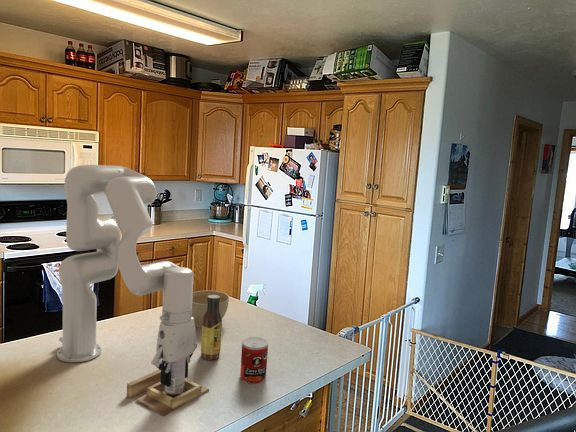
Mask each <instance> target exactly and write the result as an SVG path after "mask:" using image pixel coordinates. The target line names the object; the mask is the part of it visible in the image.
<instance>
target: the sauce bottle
mask: <svg viewBox="0 0 576 432" xmlns="http://www.w3.org/2000/svg"><path fill="white" fill-rule="evenodd" d="M207 301H208V305H207V311H206V313H205V314H204V316H203V324H202V328H201V340H200V341H201V342H200V356H201V358H202V359H204V360H210V361H211V360H216V359H218V358H219V357H220V355H221V349H222V347H221V345H222V333H223V332H222V329H223V318H221V315H220V311H219V301H220V296H218V295H209V296H207Z"/></svg>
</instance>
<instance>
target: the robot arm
mask: <svg viewBox="0 0 576 432" xmlns="http://www.w3.org/2000/svg"><path fill="white" fill-rule="evenodd" d="M63 185H64V186H63V187H64V192H65V198H66V204H67V209H66V230H65V231H66V232H65V238H66V245H67V247H68V248H69V249H70V250H71V251H75V252H85V251H91V250H93V252H86V253H80V254H73V255H70V256H68V257H66V258H65V259H63V260H62V261H61V263H60V264H59V267H58V275H59V280H60V284H61V285H60V286H61V292H62V293H61V294H62V336H61V337H59V340H58V341H59V342H61V347H60V348H59V349H58V350H57V352H56V358H57V359H58V360H59V361H61V362H64V363H82V362H87V361H91V360H93V359H95V358H97V357H98V356H99V355H101V353H102V347H101V345H100V344H97V312H98V311H97V310H98V309H97V308H98V307H97V304H98V303H97V295H96V293H95V292H94V290H93V289H92V288H91V286H90V285H93V284H96V283H100V282H105V281H107V280H108V281H109V280H111V279H112V278H114V277H115V276H116V275H117V273H118V271H119V272H120V275H121V277H122V280H123V282H124V284H125V286H126V288H127V289H128V291H130V292H131V294H133V295H135V296H145V295H149V294H152V293H156V292H160V291H162V310H161V311H162V313H161V315H160V316H159V320H160V322H159V328H158V333H157V338H156V339H157V340H156V353H155V355H154V357H153V359H152V360H151V365H153V366H155V367H156V368H157V369H158V370H161V384H163V385H165V386H167V387H169V386H170V385H171V372H170V371H169V370H170V367H171V363H173V362H175V361H177V360H179V359H181V358H184V357H186V364H185V378H187V379H188V376H189V364H190V362H191V358H192V357H193V354H194V353H195V351H196V350H197V348H198V344H197V342H196V341H197V339H196V338H197V337H196V336H197V335H196V333H197V332H196V326H195V323H194V318H193V317H192V298H193V292H194V272H193V271H192V269H190V268H189V267H183V266H179V265H177V264H175V263H174V262H171V261H170V260H169V261H168V260H162V261H156V262H152V263H148V264H142V265H141V262H140V260H139V257H138V254H137V242H138V240H139V239H140V238H141V237H142V236H144V235H146V234H147V233H149V231H151V230H152V228H153V221H152V218H151V217H150V214H149V211H148V209H147V206H148V205H151V204H153V203H154V202H155V200H156V198H157V189H156V185H155V184H154V182H153V181H152V180H151V179H150V178H149V177H147V176H146V175H144V174H141V173H140V172H138V171H135V170H133V169H132V168H129V167H127V166H123V165H107V164H105V165H104V164H83V165H78V166H73V167H72V168H71V169H69V170H68V172H67V173H66V175H65V177H64V184H63ZM95 195H105V197H106V199H107V201H108V203H109V206H110V208H111V211H112V214H113V216H114V218H115V219H112V218H110V217H99V210H100V209H99V203H98V201H97V199H96V198H95ZM115 220H116V221H115ZM94 250H96V251H94ZM165 362H167V364H166V366H165Z"/></svg>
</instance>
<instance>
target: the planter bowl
mask: <svg viewBox="0 0 576 432" xmlns="http://www.w3.org/2000/svg"><path fill="white" fill-rule="evenodd" d="M209 295H218V296H220V301H219V311H220V315H221V318H222V319H223V318H224V317H225V315H226V314H227V311H228V307H229V301H230V296H229V295H228V294H227V293H225V292H221V291H218V290H198V291H193V298H192V317H193V318H194V323H195V327H197V328H199V329H202V324H203V316H204V314H205V313H206V311H207V305H208V301H207V296H209Z"/></svg>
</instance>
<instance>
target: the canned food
mask: <svg viewBox="0 0 576 432" xmlns="http://www.w3.org/2000/svg"><path fill="white" fill-rule="evenodd" d="M241 342H242V343H241V354H240V355H241V356H240V357H241V358H240V378H241V380H242V381H243V382H244V383H248V384H253V385H254V384H260V383H262V382H264V381H265V379H266V377H267V370H268V369H267V367H268V366H267V365H268V354H269V353H268V351H269V342H268V340H267V339H266V338H262V337H259V336H250V337H246V338H244V339H242V341H241Z"/></svg>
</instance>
